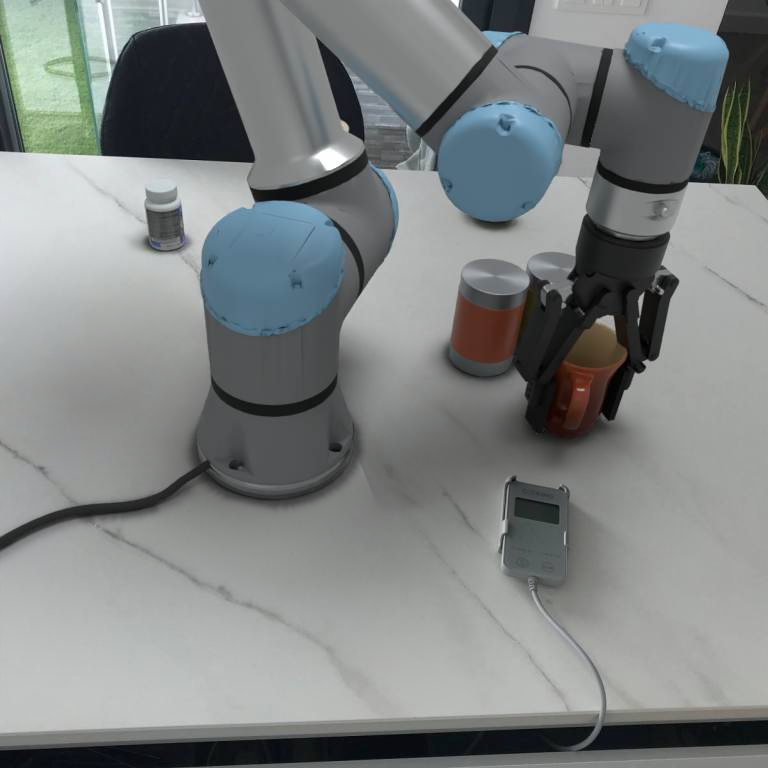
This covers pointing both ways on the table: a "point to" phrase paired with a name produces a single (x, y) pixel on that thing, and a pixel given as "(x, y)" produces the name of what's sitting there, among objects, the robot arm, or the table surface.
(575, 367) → the mug
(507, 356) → the tins
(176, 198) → the pill bottle
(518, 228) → the table surface
